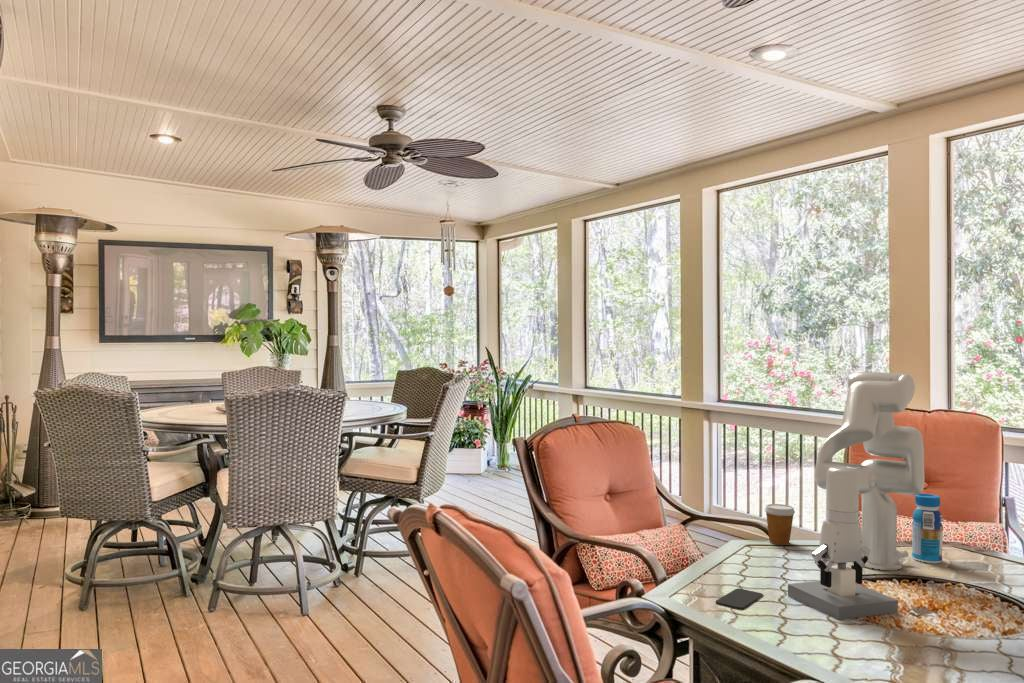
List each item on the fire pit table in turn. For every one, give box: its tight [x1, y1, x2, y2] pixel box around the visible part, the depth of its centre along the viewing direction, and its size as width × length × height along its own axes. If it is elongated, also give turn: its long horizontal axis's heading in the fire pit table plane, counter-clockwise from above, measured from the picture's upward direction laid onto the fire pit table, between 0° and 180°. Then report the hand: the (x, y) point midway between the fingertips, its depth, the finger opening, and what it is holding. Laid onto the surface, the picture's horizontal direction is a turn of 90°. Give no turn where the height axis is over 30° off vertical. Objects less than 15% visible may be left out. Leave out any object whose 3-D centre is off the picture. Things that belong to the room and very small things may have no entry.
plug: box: [828, 563, 856, 597], centre depth 187 cm, size 4×4×10 cm
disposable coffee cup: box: [764, 503, 796, 546], centre depth 247 cm, size 10×10×12 cm
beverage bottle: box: [911, 493, 944, 564], centre depth 228 cm, size 8×8×20 cm
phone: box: [715, 588, 764, 611], centre depth 189 cm, size 7×1×15 cm
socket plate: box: [787, 580, 899, 621], centre depth 187 cm, size 18×18×3 cm
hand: (841, 584), depth 187 cm, fingers open, 9 cm apart
